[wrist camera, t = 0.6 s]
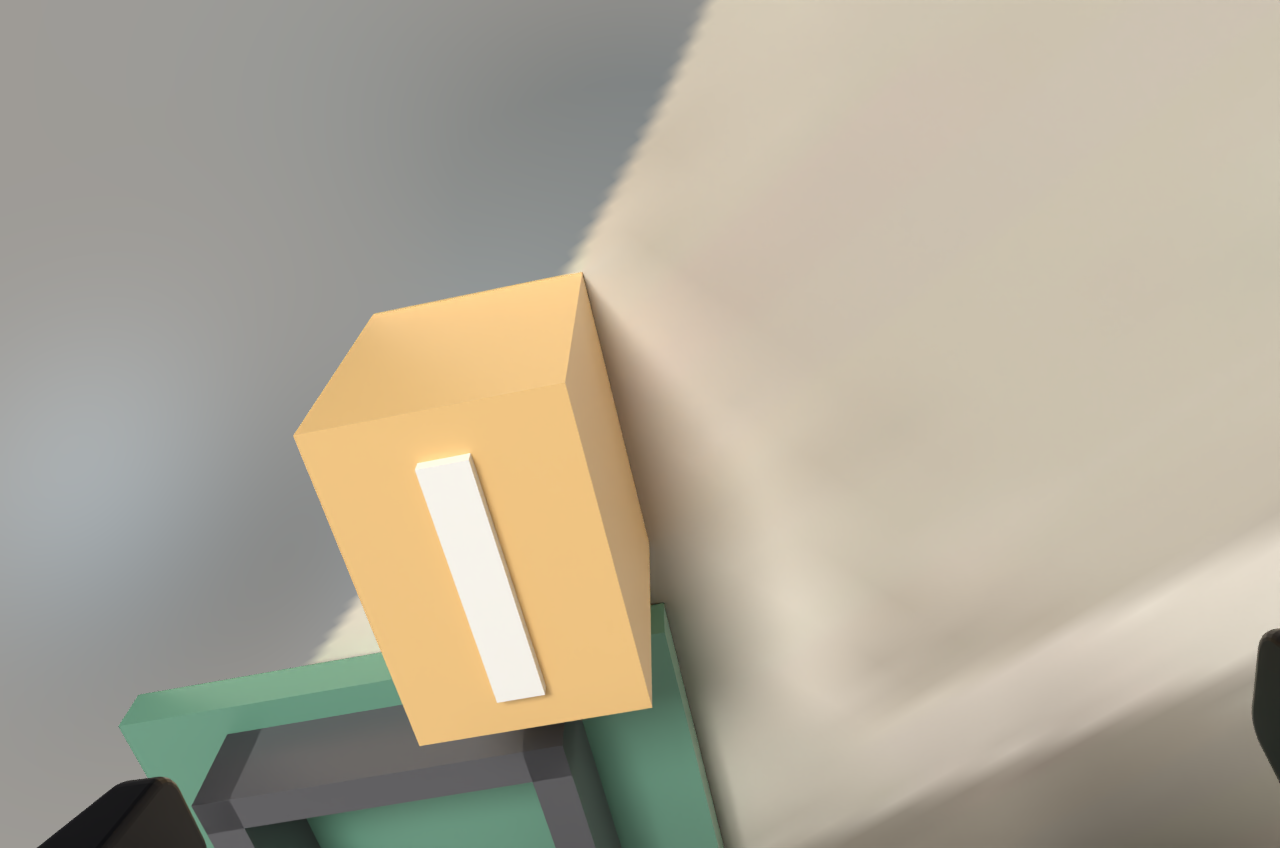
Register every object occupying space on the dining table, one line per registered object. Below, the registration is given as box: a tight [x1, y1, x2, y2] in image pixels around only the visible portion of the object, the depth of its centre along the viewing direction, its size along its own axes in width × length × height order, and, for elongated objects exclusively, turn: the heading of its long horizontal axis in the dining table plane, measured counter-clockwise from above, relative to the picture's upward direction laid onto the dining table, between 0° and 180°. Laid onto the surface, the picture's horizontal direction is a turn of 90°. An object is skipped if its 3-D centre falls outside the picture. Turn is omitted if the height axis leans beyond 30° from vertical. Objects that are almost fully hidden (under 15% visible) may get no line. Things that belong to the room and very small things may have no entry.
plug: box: [294, 272, 652, 746], centre depth 18 cm, size 6×4×5 cm, turn 12°
